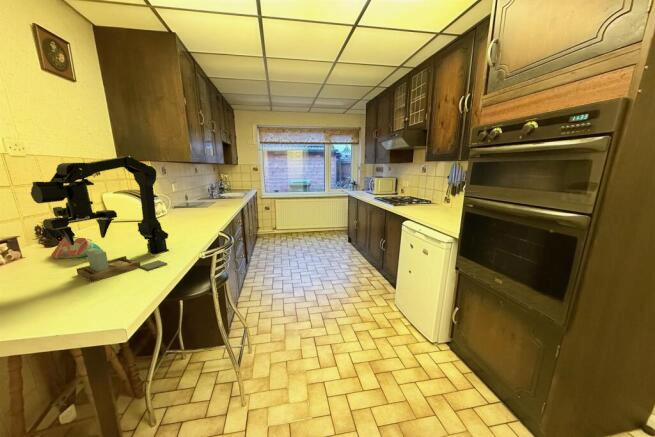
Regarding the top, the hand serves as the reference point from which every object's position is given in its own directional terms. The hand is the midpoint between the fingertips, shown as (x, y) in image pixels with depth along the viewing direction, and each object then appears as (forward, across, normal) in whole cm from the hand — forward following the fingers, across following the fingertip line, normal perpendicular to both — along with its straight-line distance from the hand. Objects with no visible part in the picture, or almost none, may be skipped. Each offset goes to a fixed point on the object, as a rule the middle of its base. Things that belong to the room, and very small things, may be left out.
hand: (88, 241), depth 91 cm
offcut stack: (+13, -6, +3) cm, 15 cm away
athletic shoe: (+13, -8, -30) cm, 34 cm away
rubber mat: (+13, -12, +14) cm, 23 cm away
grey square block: (+13, 0, +2) cm, 13 cm away
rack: (+13, -3, +3) cm, 13 cm away
